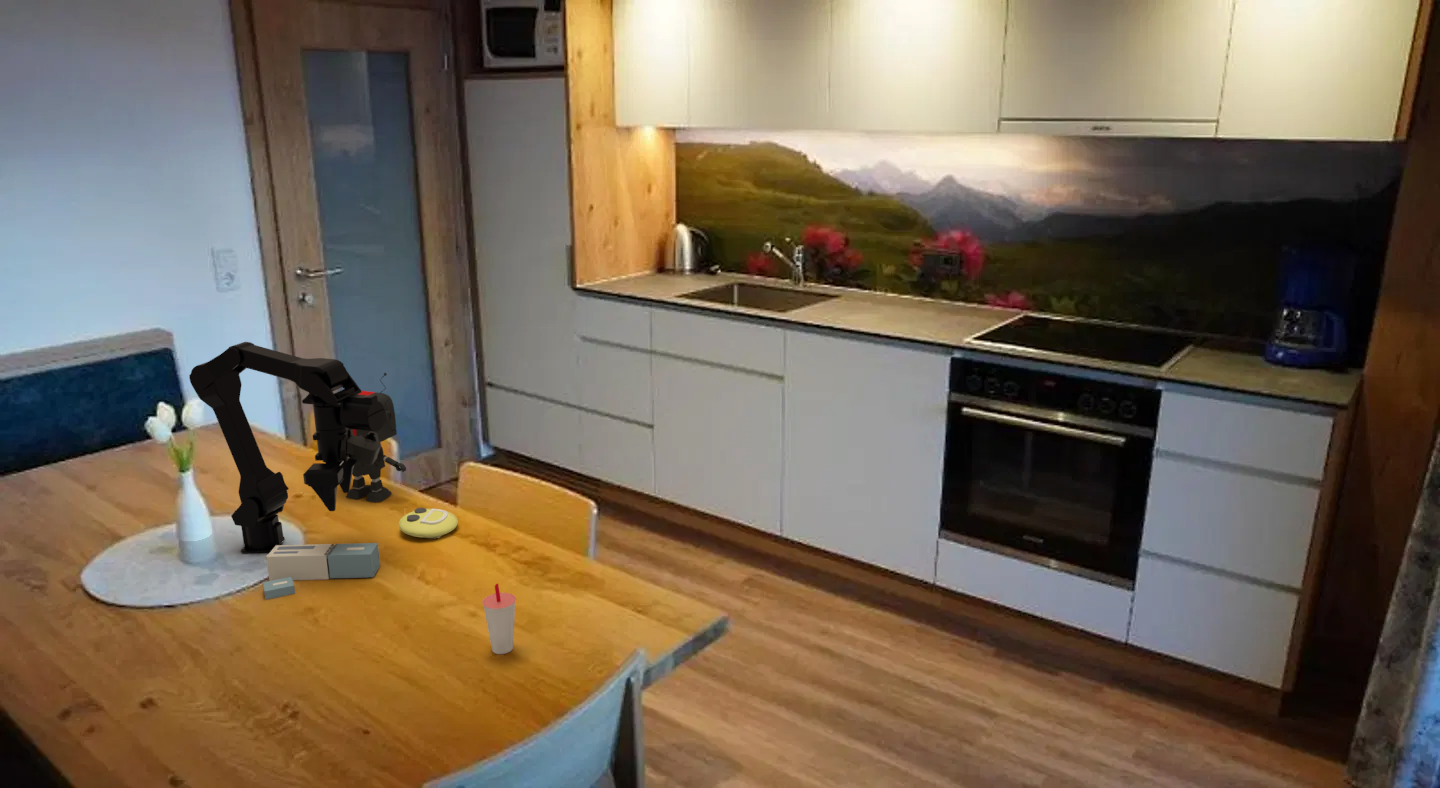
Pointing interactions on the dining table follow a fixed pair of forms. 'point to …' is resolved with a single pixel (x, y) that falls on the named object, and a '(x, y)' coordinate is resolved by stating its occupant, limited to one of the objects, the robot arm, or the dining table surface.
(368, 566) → the stub
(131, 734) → the dining table surface
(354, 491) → the toy robot
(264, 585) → the torn stub
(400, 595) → the dining table surface
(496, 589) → the cup
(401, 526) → the emoji
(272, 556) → the block
